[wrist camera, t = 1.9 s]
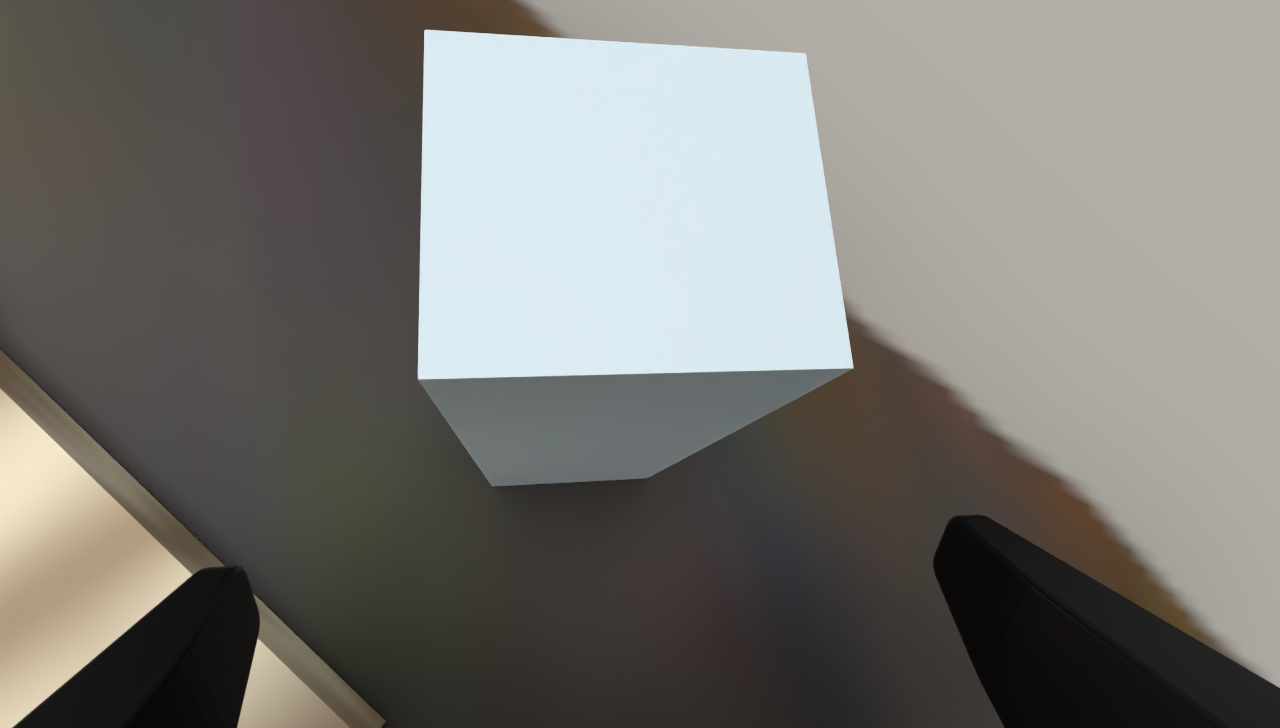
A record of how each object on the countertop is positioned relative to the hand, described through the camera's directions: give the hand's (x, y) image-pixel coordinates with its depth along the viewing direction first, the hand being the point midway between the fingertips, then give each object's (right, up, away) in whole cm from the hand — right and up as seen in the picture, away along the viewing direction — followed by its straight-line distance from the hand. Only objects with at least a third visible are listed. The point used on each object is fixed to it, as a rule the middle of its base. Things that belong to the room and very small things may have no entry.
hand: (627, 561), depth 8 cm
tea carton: (-2, +1, +11) cm, 11 cm away
